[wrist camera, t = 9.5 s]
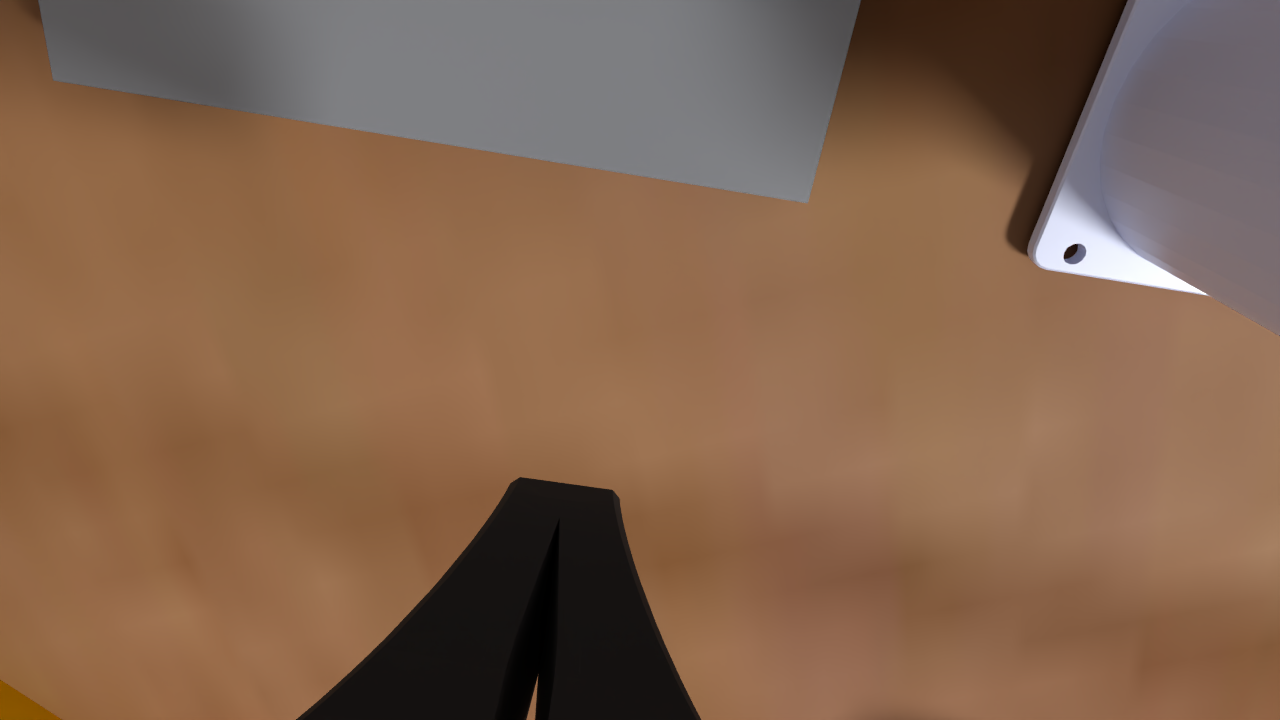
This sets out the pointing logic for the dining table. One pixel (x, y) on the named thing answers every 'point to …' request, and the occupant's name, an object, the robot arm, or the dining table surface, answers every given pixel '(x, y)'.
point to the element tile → (20, 706)
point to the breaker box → (498, 74)
